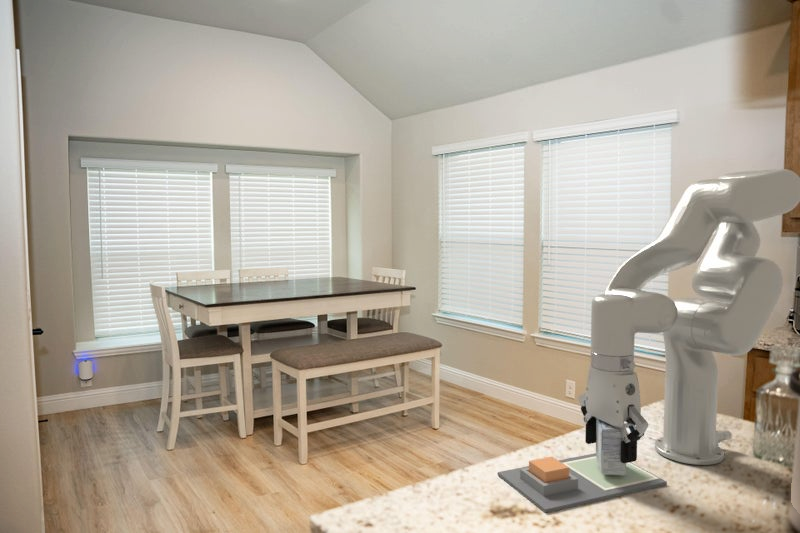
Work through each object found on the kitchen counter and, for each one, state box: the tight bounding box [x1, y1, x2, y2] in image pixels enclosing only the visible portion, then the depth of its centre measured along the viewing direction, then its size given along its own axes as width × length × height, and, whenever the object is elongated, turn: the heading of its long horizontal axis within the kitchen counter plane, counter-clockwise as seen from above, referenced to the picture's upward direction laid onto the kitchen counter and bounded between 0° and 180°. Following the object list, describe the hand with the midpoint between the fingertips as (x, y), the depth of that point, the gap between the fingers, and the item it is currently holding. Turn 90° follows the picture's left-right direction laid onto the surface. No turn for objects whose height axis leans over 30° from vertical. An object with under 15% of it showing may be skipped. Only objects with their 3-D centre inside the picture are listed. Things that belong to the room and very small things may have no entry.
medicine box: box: [595, 418, 626, 476], centre depth 110 cm, size 8×4×9 cm, turn 168°
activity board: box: [497, 452, 668, 514], centre depth 108 cm, size 26×15×2 cm, turn 111°
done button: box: [528, 456, 569, 483], centre depth 105 cm, size 5×5×2 cm
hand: (610, 451), depth 110 cm, fingers closed on medicine box, 9 cm apart
